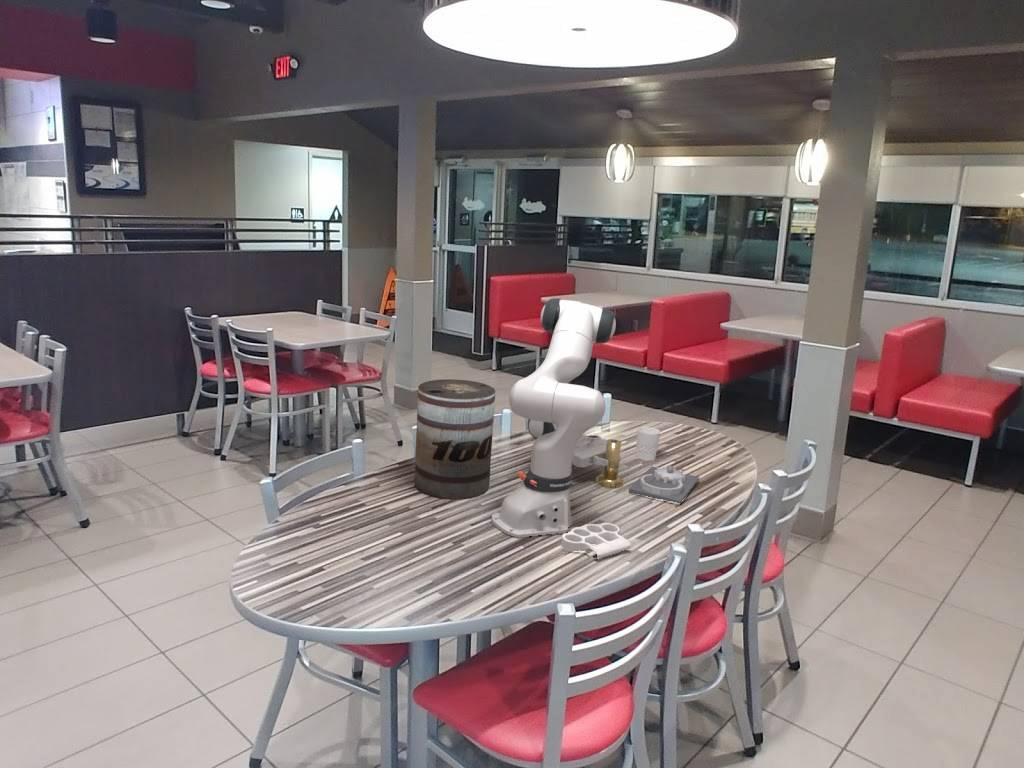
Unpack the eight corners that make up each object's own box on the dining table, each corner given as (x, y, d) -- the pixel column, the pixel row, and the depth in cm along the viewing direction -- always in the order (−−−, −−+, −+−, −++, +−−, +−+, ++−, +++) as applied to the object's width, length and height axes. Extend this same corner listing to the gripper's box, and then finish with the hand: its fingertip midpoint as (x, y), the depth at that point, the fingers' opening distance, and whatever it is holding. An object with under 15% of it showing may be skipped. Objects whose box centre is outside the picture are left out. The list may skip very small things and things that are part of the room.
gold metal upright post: (607, 490, 232) (611, 446, 229) (590, 480, 239) (594, 438, 236) (628, 486, 237) (633, 443, 233) (611, 477, 244) (616, 435, 240)
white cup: (631, 458, 263) (634, 430, 261) (638, 452, 270) (641, 425, 268) (653, 463, 260) (656, 435, 257) (659, 457, 267) (663, 430, 264)
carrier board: (679, 505, 225) (682, 488, 223) (628, 493, 231) (630, 476, 230) (698, 481, 246) (700, 465, 244) (651, 470, 252) (653, 455, 251)
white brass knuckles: (587, 566, 184) (549, 542, 196) (639, 550, 195) (600, 528, 206) (588, 554, 184) (550, 530, 195) (640, 538, 194) (601, 517, 206)
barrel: (465, 506, 213) (471, 404, 206) (399, 487, 223) (402, 389, 215) (502, 482, 233) (508, 388, 225) (440, 466, 242) (444, 375, 235)
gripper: (559, 445, 237) (594, 458, 228) (600, 434, 251) (634, 445, 242) (558, 464, 238) (592, 477, 229) (598, 452, 253) (632, 464, 243)
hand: (614, 461), depth 236 cm, fingers closed on gold metal upright post, 4 cm apart
